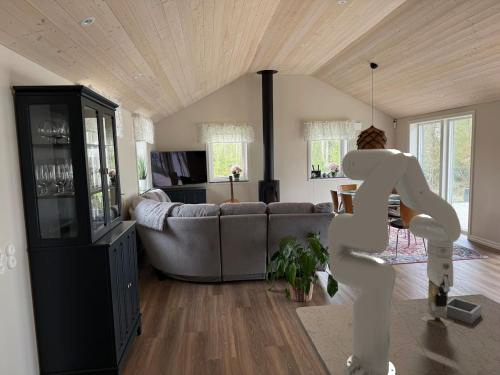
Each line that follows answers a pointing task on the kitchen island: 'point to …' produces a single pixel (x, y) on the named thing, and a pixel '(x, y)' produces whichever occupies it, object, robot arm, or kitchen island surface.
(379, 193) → the robot arm
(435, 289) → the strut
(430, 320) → the stud plate
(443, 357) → the kitchen island surface
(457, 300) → the bin
